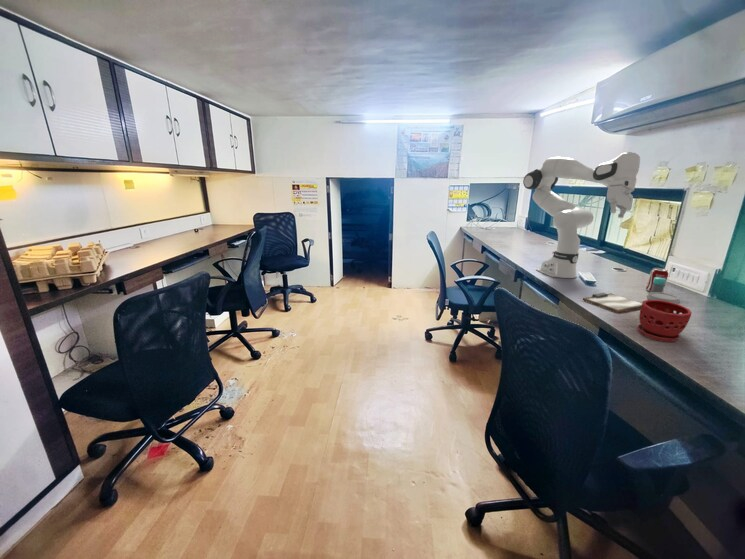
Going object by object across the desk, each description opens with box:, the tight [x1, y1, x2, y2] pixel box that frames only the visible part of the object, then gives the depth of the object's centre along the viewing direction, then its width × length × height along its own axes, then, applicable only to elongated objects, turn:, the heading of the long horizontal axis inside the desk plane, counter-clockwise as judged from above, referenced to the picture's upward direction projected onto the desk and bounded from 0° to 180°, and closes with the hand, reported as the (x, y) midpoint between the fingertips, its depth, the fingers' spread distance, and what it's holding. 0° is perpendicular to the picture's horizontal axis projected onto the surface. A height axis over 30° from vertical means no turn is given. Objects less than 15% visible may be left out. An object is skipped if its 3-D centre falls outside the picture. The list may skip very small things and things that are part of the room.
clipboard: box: [582, 292, 643, 314], centre depth 144 cm, size 16×19×2 cm
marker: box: [651, 277, 667, 293], centre depth 139 cm, size 4×4×13 cm
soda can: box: [645, 267, 669, 293], centre depth 158 cm, size 7×7×12 cm
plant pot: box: [636, 299, 692, 343], centre depth 112 cm, size 13×13×12 cm
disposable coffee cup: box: [646, 292, 680, 312], centre depth 122 cm, size 10×10×12 cm
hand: (616, 215), depth 150 cm, fingers open, 8 cm apart
